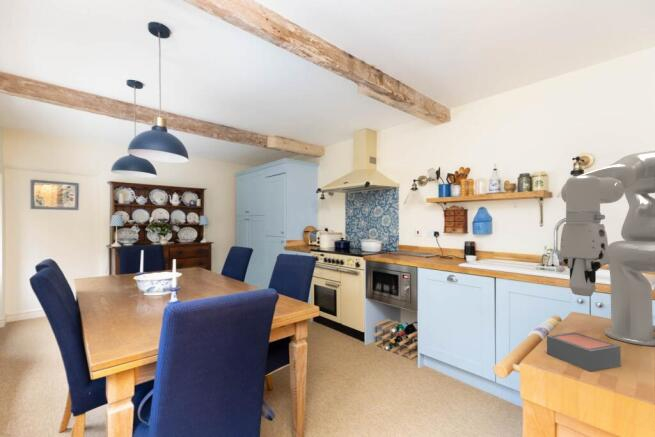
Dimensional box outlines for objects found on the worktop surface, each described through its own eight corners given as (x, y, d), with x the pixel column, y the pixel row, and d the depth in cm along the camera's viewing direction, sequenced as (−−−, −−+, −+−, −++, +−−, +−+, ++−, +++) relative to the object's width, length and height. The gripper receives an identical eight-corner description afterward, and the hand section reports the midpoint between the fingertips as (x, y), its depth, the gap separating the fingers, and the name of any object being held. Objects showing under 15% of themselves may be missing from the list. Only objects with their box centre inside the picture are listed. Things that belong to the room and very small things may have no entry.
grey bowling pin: (600, 297, 82) (600, 249, 83) (576, 295, 84) (576, 248, 84) (587, 293, 88) (587, 248, 89) (564, 292, 89) (565, 247, 90)
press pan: (575, 337, 87) (575, 333, 87) (612, 349, 79) (612, 345, 79) (553, 340, 85) (553, 336, 85) (588, 352, 76) (588, 349, 76)
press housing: (574, 349, 89) (574, 332, 89) (620, 365, 78) (620, 346, 78) (546, 353, 85) (546, 335, 85) (591, 371, 75) (590, 351, 75)
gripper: (626, 219, 80) (626, 289, 79) (562, 220, 96) (562, 279, 95) (606, 217, 78) (606, 289, 77) (544, 219, 93) (544, 279, 93)
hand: (582, 283), depth 86 cm, fingers closed on grey bowling pin, 3 cm apart
